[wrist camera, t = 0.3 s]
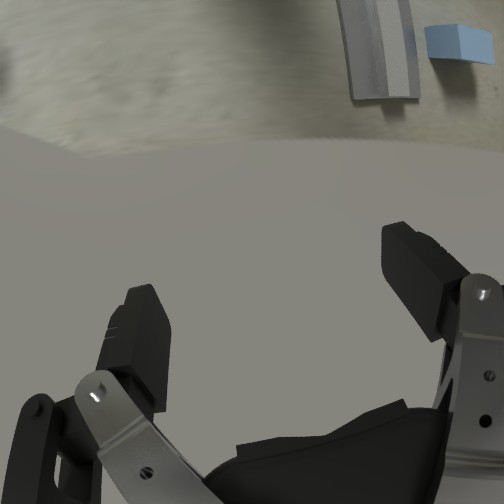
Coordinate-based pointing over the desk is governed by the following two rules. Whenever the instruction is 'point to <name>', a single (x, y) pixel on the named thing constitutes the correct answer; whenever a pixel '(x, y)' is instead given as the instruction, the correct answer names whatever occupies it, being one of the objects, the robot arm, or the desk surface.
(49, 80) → the desk surface
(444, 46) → the block
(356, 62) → the din rail
